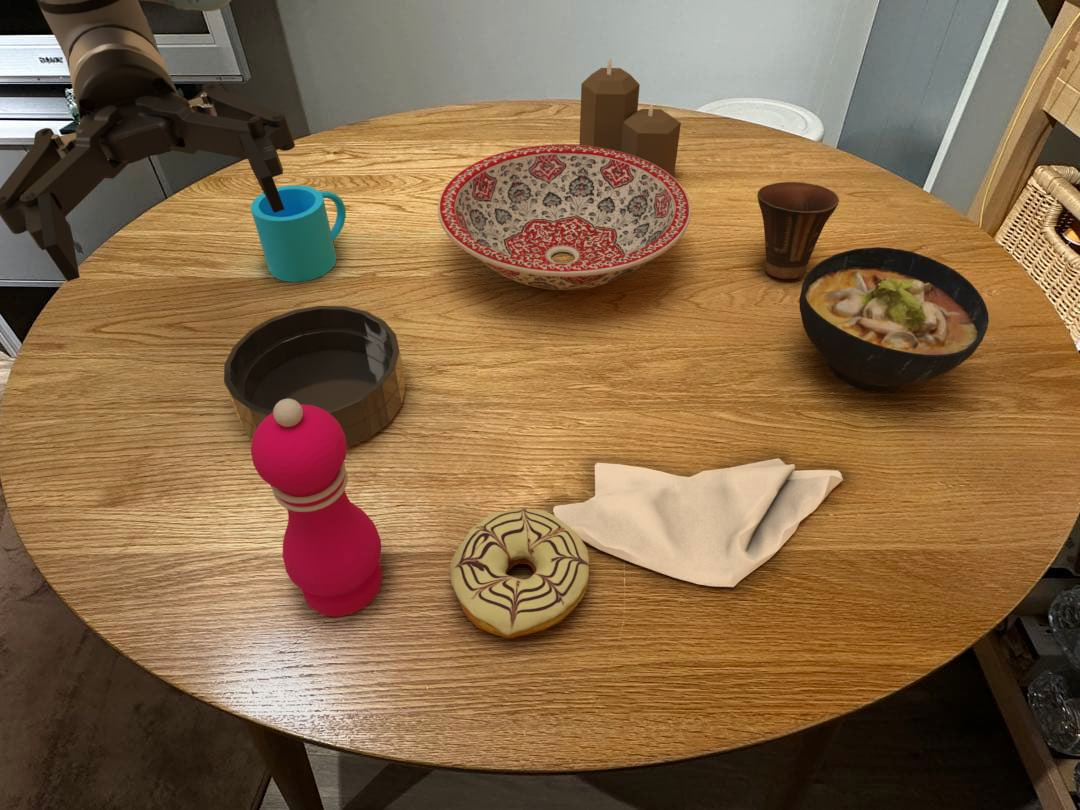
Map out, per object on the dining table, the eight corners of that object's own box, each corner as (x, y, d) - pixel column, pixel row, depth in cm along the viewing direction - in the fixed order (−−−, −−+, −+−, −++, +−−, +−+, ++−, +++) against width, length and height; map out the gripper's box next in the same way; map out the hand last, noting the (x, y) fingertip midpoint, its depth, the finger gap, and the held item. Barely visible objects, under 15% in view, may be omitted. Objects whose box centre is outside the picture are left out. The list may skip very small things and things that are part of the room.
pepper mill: (344, 531, 65) (289, 350, 51) (407, 573, 62) (368, 392, 48) (277, 592, 61) (199, 412, 47) (342, 640, 58) (279, 463, 44)
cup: (782, 239, 98) (800, 165, 91) (834, 274, 92) (857, 198, 85) (727, 258, 95) (742, 184, 88) (778, 296, 89) (798, 219, 82)
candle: (551, 163, 113) (552, 57, 102) (630, 143, 117) (639, 40, 107) (598, 205, 104) (604, 94, 94) (682, 182, 108) (696, 74, 98)
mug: (300, 289, 90) (283, 228, 85) (254, 267, 94) (235, 207, 88) (372, 244, 97) (361, 185, 92) (327, 224, 101) (314, 166, 95)
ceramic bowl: (608, 182, 109) (612, 127, 103) (730, 292, 90) (743, 232, 84) (411, 230, 100) (403, 172, 94) (501, 363, 81) (497, 301, 75)
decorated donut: (426, 582, 62) (421, 554, 59) (526, 509, 67) (525, 481, 64) (513, 672, 56) (511, 646, 53) (614, 585, 61) (617, 557, 59)
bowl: (756, 376, 79) (776, 297, 72) (822, 296, 89) (845, 220, 82) (924, 450, 72) (965, 370, 65) (976, 354, 81) (1017, 275, 74)
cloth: (555, 591, 61) (555, 575, 59) (551, 461, 71) (551, 444, 69) (883, 587, 61) (892, 571, 59) (834, 458, 71) (840, 441, 69)
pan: (273, 485, 69) (257, 443, 65) (218, 384, 79) (201, 342, 75) (434, 414, 75) (428, 372, 71) (364, 328, 85) (356, 287, 81)
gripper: (288, 95, 69) (365, 213, 56) (-9, 182, 63) (1, 338, 50) (260, 7, 63) (338, 117, 51) (-70, 93, 57) (-76, 244, 44)
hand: (171, 227), depth 50 cm, fingers open, 13 cm apart
